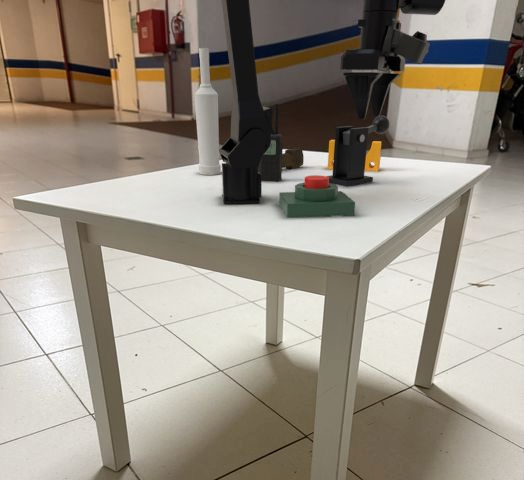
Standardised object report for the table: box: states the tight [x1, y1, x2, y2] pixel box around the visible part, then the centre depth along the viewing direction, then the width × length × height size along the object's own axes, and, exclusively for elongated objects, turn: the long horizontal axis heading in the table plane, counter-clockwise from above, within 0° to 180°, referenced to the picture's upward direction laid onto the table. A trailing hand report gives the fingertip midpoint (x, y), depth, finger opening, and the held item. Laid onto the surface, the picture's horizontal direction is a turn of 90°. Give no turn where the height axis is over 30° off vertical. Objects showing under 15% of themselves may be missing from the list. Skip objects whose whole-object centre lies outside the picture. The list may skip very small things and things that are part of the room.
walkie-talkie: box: [259, 103, 284, 183], centre depth 104 cm, size 5×3×15 cm
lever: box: [342, 114, 390, 145], centre depth 103 cm, size 12×4×4 cm, turn 128°
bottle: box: [193, 47, 222, 176], centre depth 110 cm, size 5×5×25 cm
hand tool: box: [258, 147, 305, 172], centre depth 117 cm, size 19×4×5 cm, turn 135°
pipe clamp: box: [327, 139, 382, 172], centre depth 119 cm, size 12×4×6 cm, turn 73°
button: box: [303, 175, 329, 189], centre depth 81 cm, size 4×4×2 cm
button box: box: [278, 182, 356, 219], centre depth 82 cm, size 11×9×4 cm
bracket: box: [326, 125, 374, 188], centre depth 103 cm, size 8×7×11 cm
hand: (369, 117), depth 89 cm, fingers open, 9 cm apart
